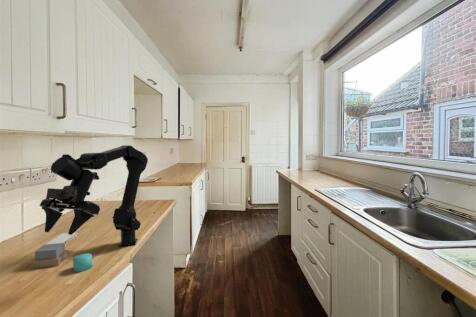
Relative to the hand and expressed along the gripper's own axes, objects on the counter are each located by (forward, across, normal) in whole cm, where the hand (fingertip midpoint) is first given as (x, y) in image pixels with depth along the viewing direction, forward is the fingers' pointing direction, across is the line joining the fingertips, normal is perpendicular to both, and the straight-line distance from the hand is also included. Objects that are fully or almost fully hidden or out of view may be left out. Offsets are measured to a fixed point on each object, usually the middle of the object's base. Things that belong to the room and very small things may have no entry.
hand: (57, 233), depth 78 cm
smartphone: (-2, -32, +32) cm, 45 cm away
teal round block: (+8, 0, +15) cm, 17 cm away
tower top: (+5, -15, +14) cm, 22 cm away
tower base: (+8, -15, +16) cm, 24 cm away
